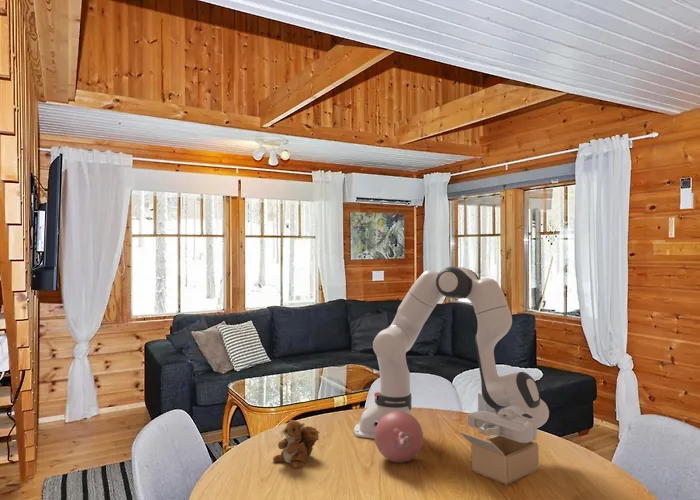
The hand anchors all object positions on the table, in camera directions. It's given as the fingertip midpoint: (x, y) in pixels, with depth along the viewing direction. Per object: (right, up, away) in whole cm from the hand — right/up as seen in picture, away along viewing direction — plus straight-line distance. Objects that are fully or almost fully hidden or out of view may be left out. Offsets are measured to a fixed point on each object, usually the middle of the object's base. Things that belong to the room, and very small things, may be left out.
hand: (483, 431), depth 146 cm
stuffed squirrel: (-56, -15, +16) cm, 60 cm away
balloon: (-23, -15, +12) cm, 30 cm away
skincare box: (+14, -15, +48) cm, 52 cm away
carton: (+8, -14, +6) cm, 18 cm away
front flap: (0, -3, 0) cm, 3 cm away
